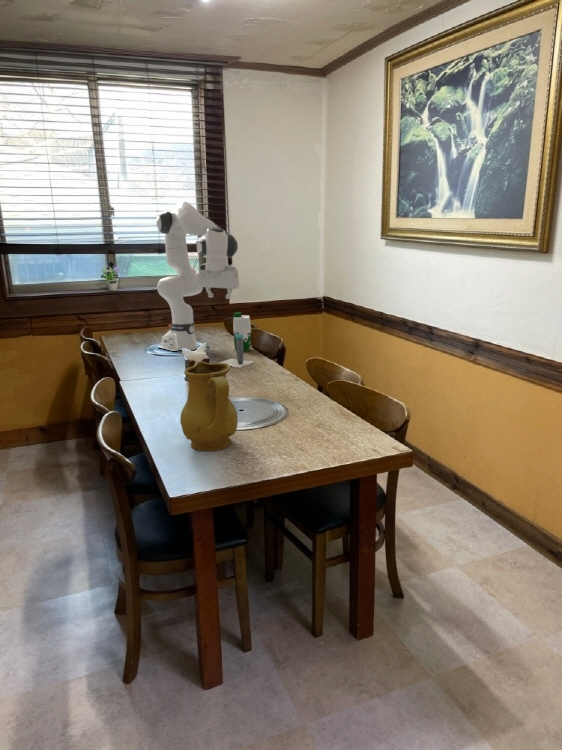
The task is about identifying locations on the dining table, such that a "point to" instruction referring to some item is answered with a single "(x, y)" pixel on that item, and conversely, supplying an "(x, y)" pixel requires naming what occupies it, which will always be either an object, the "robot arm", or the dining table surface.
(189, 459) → the dining table surface
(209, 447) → the pitcher
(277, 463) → the dining table surface
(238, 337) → the marker
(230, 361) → the paper
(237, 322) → the milk carton
